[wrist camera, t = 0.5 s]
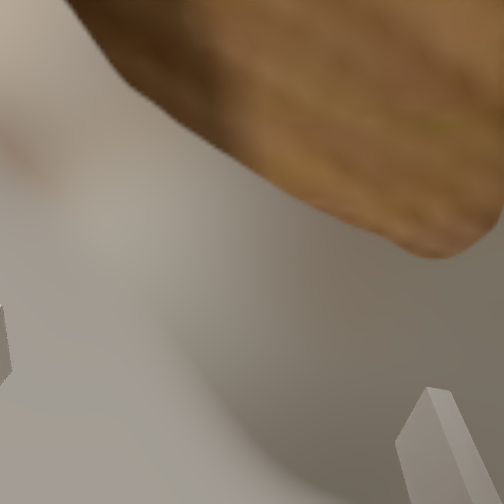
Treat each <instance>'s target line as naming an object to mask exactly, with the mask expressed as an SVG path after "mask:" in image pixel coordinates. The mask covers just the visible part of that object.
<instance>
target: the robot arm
mask: <svg viewBox="0 0 504 504" xmlns="http://www.w3.org/2000/svg"><path fill="white" fill-rule="evenodd" d="M11 372H12V367H11V360H10V354H9V347H8V340H7V333H6V327H5V319H4V313H3V306H2V305H0V385H1V384H2V383H3V382H4V380H5V379H6V378H7V377H8V375H9V374H10V373H11ZM395 446H396V450H397V453H398V457H399V461H400V464H401V468H402V472H403V476H404V480H405V483H406V487H407V491H408V495H409V498H410V502H411V504H502V503H501V500H500V498H499V496H498V494H497V492H496V489H495V487H494V485H493V483H492V481H491V479H490V476H489V474H488V472H487V470H486V468H485V466H484V463H483V461H482V459H481V457H480V455H479V452H478V450H477V448H476V446H475V444H474V442H473V439H472V437H471V435H470V433H469V431H468V429H467V427H466V424H465V422H464V420H463V418H462V416H461V414H460V411H459V409H458V407H457V405H456V403H455V401H454V399H453V396H452V394H451V392H450V391H447V390H442V389H437V388H431V387H426V388H425V389H424V391H423V393H422V395H421V397H420V398H419V400H418V402H417V404H416V406H415V407H414V409H413V411H412V413H411V414H410V416H409V418H408V420H407V421H406V423H405V425H404V427H403V429H402V430H401V432H400V434H399V436H398V438H397V439H396V441H395Z"/></svg>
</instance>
